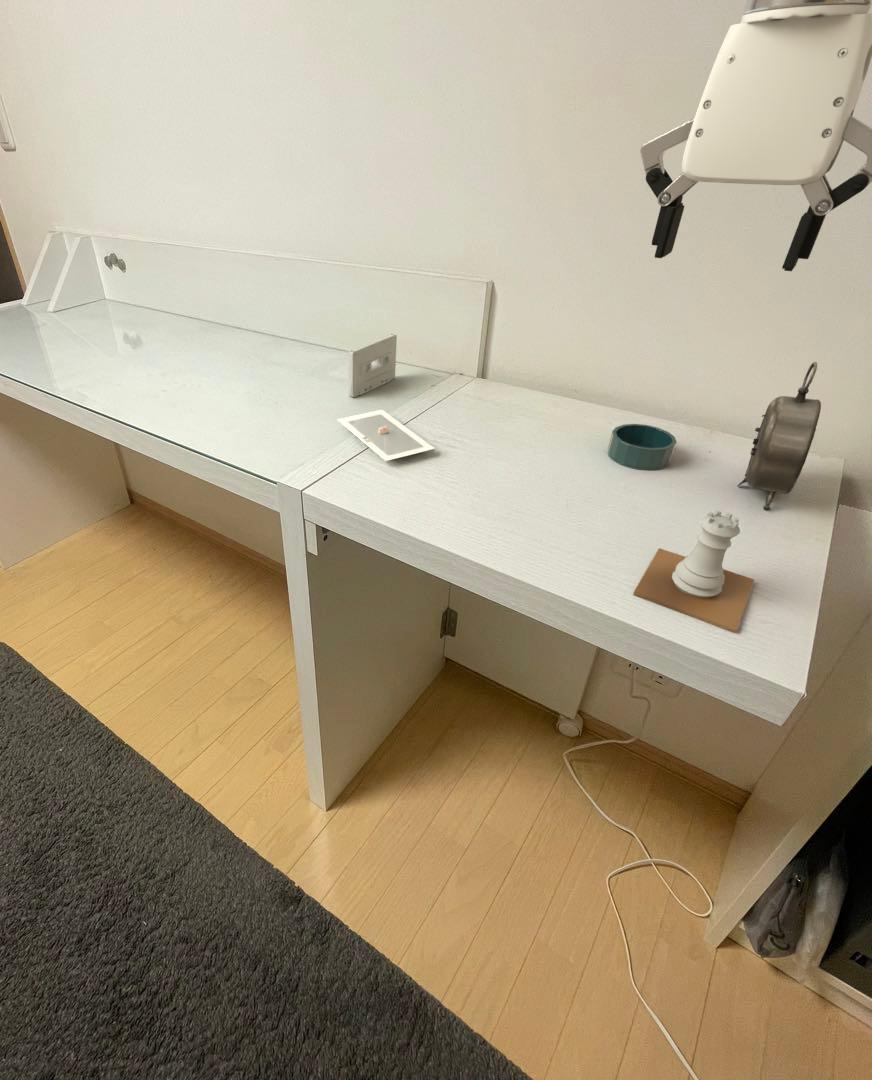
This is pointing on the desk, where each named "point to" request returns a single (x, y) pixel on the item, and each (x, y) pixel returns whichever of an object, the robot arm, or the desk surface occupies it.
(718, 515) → the rook chess piece
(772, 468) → the alarm clock
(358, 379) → the cassette
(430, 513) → the desk surface
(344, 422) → the touchpad
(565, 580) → the desk surface
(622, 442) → the teal round bowl
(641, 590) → the coaster
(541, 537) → the desk surface
